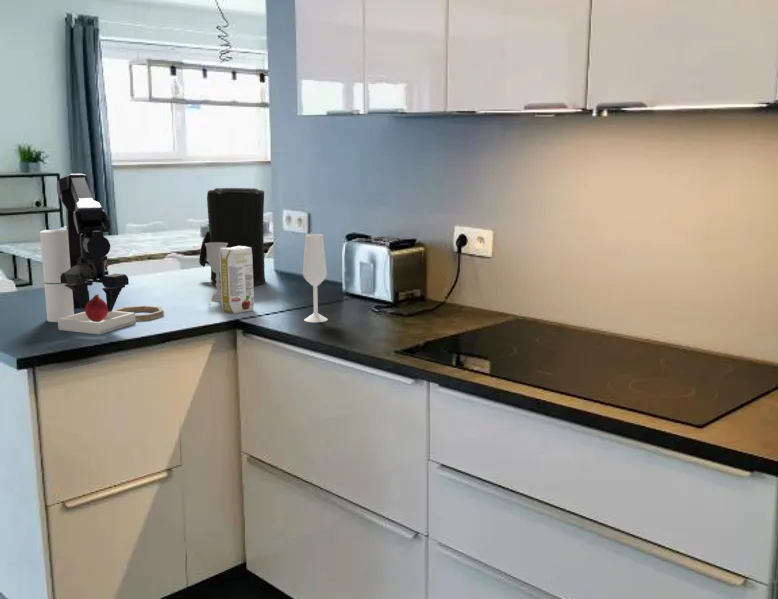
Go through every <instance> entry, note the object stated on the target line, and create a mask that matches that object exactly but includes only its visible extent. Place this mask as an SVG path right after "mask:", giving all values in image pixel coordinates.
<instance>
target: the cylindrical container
mask: <svg viewBox="0 0 778 599" xmlns="http://www.w3.org/2000/svg"><path fill="white" fill-rule="evenodd" d="M39 238H40V249H41V251H40V252H41V260H42V261H41V263H42V264H41V265H42V271H43V282H44V283H43V284H44V295H45V296H44V297H45V308H46V319H47V322H49V323H50V322H52V323H58V319H59V318H63V317H66V316H70V315H74V314H75V307H74V306H73V293H72V290H71V289H70V288H68V287H66V286H65V284H63V283H61V278H60V276H61V275H62V273H64V272H66V271H68V270H69V269H70V255H69V242H68V231H67V229H48V230H41V231H39Z"/></svg>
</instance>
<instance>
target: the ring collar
mask: <svg viewBox="0 0 778 599" xmlns="http://www.w3.org/2000/svg"><path fill="white" fill-rule="evenodd" d="M112 311H122V312H132V313H139V312H147V313H146V314H135V320H136V322H142V321H152V320H156V319H159V318H162V317H164V316H165V314H164V313H165V312H164V310H163V308H162V306H153V305H138V306H137V305H136V306H134V305H133V306H125V307H121V308H117V309H113V310H112ZM149 312H150V313H149Z"/></svg>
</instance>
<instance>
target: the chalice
mask: <svg viewBox="0 0 778 599" xmlns="http://www.w3.org/2000/svg"><path fill="white" fill-rule="evenodd" d="M227 244H228V243H223V242H212V243H205V245H206V247H207V261H208V263H209V265H208V266H209V268H210V270H211V269H212V271H213V272H214V273H216V279H215V280H216V282H217V283H216V284H215V287H216V291H215V292H214V293H212V296H211V300H212V301H211V300H210V301H211V302H216V301H219V302H222V301H221V284H220V277H219V273H220V248H226V247H227Z"/></svg>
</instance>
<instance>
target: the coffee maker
mask: <svg viewBox="0 0 778 599" xmlns="http://www.w3.org/2000/svg"><path fill="white" fill-rule="evenodd" d="M206 201H207V202H206V204H207V205H206V206H207V216H208V217H207V218H208V231H206V232H205V234H204V237H203V239H202V242H201V245H200V246H201V247H200V250H199V261H198V262H199V265H200V266H201V267H203V268H204V267H205V266H206V265H208V266H210V265H209V263H208V260H207V247H206V245H205V243H212V242H223V243H228V244H227V247H226V248H231V247H235V246H246V247H251V249H252V260H253V288H254V287H257V286H260V285H262V284H265V283H266V277H265V275H266V274H265V266H266V265H265V247H264V246H265V245H264V244H265V243H264V242H265V241H264V240H265V239H264V238H265V237H264V234H265V233H264V231H265V230H264V212H265V210H264V209H265V208H264V207H265V191H264V190H263V189H262V190H260V189H258V188H254V187H253V188H251V187H221V188H219V187H218V188H214V189H210V190H207V194H206ZM219 277H220V273H219ZM215 279H216V273H214V272H213V271H212V269H211V268H210V281H211V282H212V283H213V284H214V285H216V283H217V282H216V280H215ZM220 284H221V278H220Z"/></svg>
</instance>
